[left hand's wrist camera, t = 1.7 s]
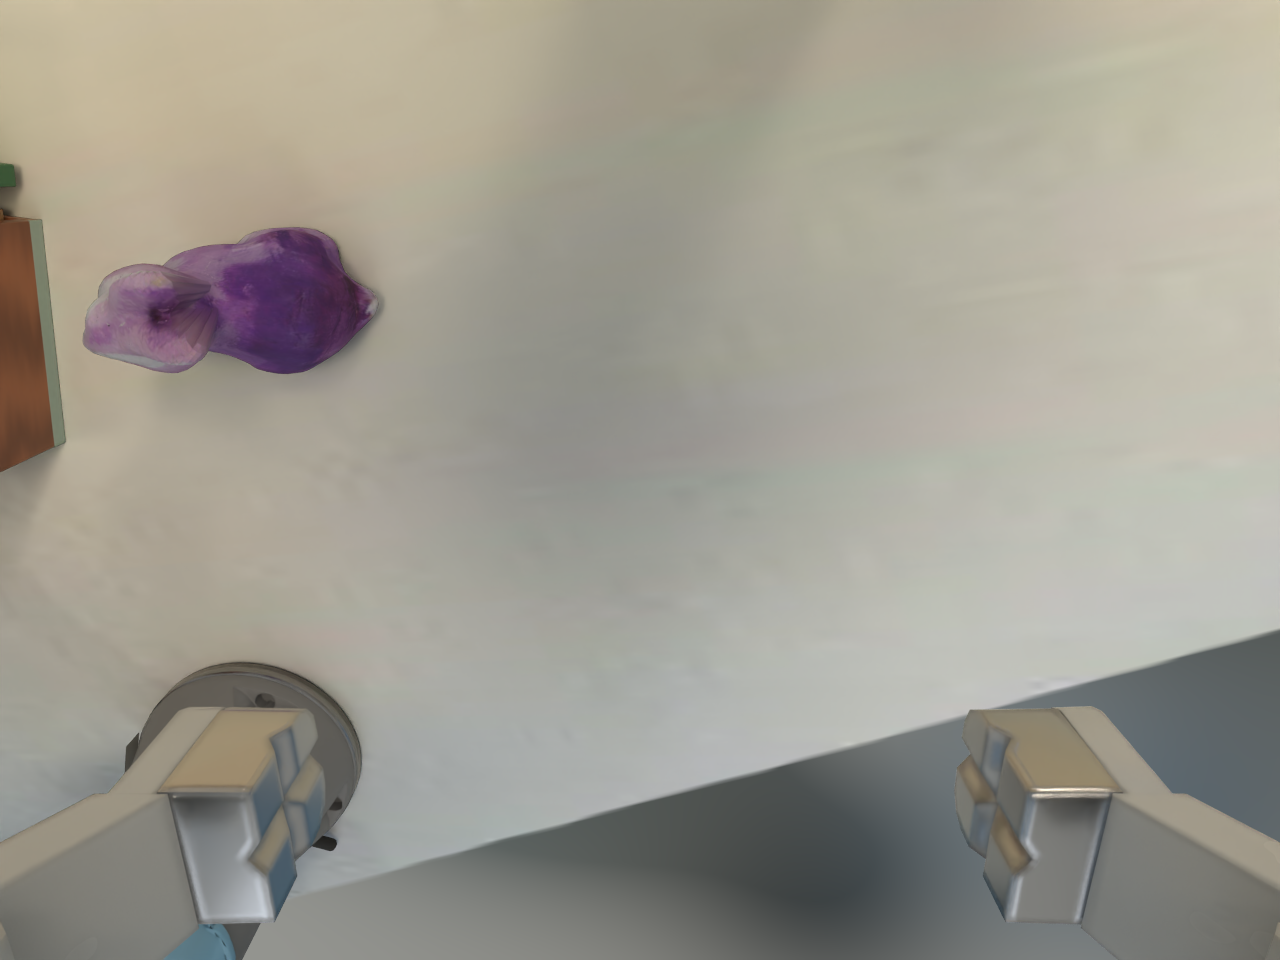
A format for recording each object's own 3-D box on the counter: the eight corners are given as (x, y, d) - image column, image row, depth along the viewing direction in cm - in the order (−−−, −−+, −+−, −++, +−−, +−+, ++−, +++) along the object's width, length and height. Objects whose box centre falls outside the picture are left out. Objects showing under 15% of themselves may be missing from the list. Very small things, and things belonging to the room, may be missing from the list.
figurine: (166, 295, 52) (-13, 344, 37) (276, 176, 49) (130, 180, 35) (286, 408, 54) (161, 494, 40) (396, 300, 52) (305, 350, 38)
